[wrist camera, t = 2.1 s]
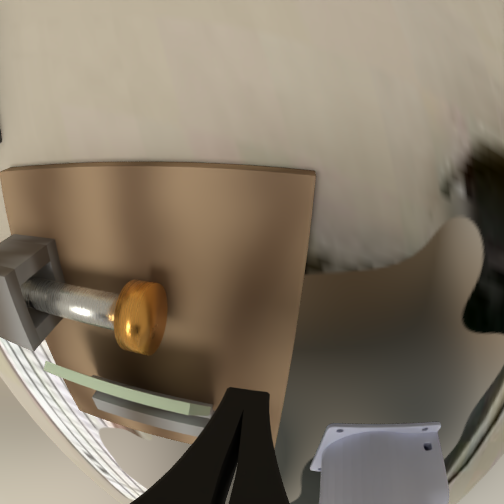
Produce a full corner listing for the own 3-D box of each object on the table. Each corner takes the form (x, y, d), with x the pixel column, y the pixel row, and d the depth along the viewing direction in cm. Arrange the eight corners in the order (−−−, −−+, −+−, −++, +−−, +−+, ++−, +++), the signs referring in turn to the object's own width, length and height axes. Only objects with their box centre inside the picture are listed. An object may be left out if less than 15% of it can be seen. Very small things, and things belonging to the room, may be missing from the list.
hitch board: (315, 170, 13) (321, 212, 9) (273, 447, 23) (265, 503, 19) (10, 167, 16) (-54, 196, 11) (84, 402, 25) (59, 444, 21)
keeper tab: (191, 399, 14) (187, 419, 14) (213, 404, 20) (211, 418, 19) (46, 357, 15) (42, 373, 15) (97, 375, 21) (94, 388, 20)
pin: (163, 269, 15) (132, 311, 12) (170, 325, 17) (146, 370, 14) (40, 252, 16) (3, 281, 13) (54, 300, 18) (23, 332, 14)
